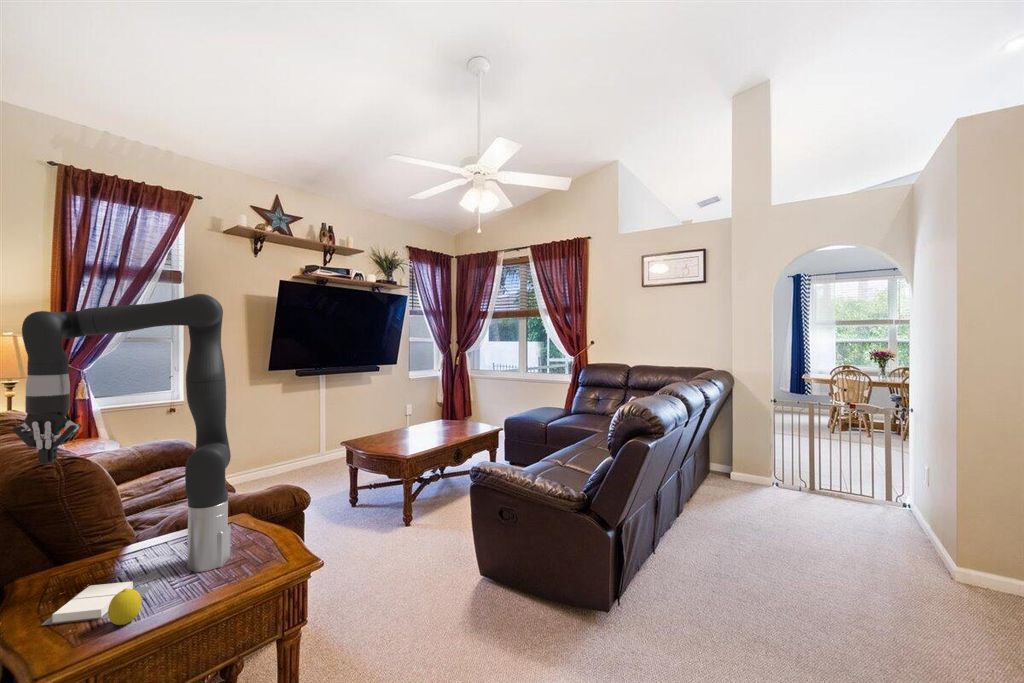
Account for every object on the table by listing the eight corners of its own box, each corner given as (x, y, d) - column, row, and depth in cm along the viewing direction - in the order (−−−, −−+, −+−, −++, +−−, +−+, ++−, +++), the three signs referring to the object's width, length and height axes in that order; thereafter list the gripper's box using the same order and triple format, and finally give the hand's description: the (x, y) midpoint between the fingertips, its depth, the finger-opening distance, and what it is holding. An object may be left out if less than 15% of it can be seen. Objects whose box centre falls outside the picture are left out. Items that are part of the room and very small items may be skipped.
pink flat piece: (71, 608, 102) (117, 603, 104) (52, 624, 97) (101, 618, 99) (71, 599, 102) (117, 595, 104) (52, 614, 97) (101, 609, 99)
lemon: (121, 618, 100) (121, 582, 100) (147, 617, 100) (147, 581, 100) (100, 634, 94) (101, 596, 94) (128, 633, 95) (128, 595, 95)
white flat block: (89, 594, 108) (132, 589, 110) (72, 607, 102) (118, 602, 105) (89, 585, 108) (132, 581, 110) (72, 598, 102) (118, 594, 105)
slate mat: (153, 588, 112) (153, 585, 112) (121, 618, 100) (121, 616, 100) (82, 595, 108) (82, 592, 108) (40, 628, 96) (40, 625, 96)
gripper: (91, 390, 114) (90, 458, 114) (28, 391, 111) (27, 460, 111) (69, 394, 107) (68, 466, 107) (1, 395, 104) (0, 469, 104)
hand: (47, 463), depth 109 cm, fingers closed
